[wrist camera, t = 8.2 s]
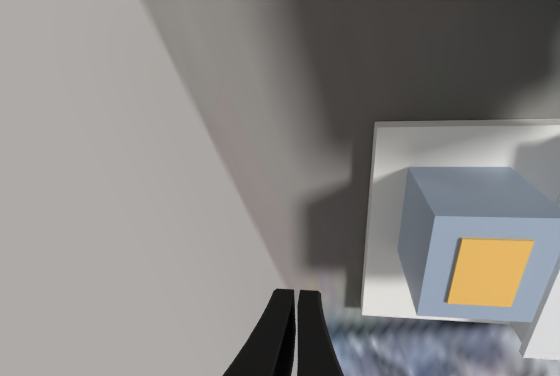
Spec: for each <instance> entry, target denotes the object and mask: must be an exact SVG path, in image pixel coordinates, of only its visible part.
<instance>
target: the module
mask: <svg viewBox="0 0 560 376" xmlns="http://www.w3.org/2000/svg"><path fill="white" fill-rule="evenodd" d="M397 251H398V254H399V258H400V261H401V264H402V268H403V271H404V274H405V278H406V281H407V285H408V288H409V291H410V295H411V298H412V301H413V305H414V308H415V311H416V315H417V316H431V317H448V318H465V319H481V320H498V321H515V322H532V321H533V318H534V316H535V313H536V311H537V308H538V306H539V304H540V301H541V299H542V296H543V294H544V291H545V289H546V286H547V284H548V281H549V279H550V276H551V274H552V271H553V269H554V267H555V264H556V262H557V259H558V257H559V254H560V207H559V206H558V205H556V204H555V203H554V202H553V201H551V200H550V199H549V198H548V197H547V196H545V195H544V194H543V193H542V192H540V191H539V190H538V189H537V188H535V187H534V186H533V185H532V184H531V183H529V182H528V181H527V180H526V179H524V178H523V177H522V176H521V175H520V174H518V173H517V172H516V171H515V170H513V169H512V168H511V167H408V173H407V180H406V188H405V196H404V203H403V211H402V219H401V226H400V234H399V242H398V249H397Z"/></svg>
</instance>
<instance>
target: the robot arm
mask: <svg viewBox="0 0 560 376" xmlns="http://www.w3.org/2000/svg"><path fill="white" fill-rule="evenodd" d="M295 334H296V325H295V302H294V290H291V289H276V290H274V292H273V294H272V296H271V299H270V301H269V303H268V305H267V307H266V309H265V311H264V313H263V314H262V316H261V318H260V320H259V322H258V323H257V325H256V327H255V328H254V330H253V332H252V333H251V335H250V337H249V339H248V340H247V342H246V343H245V345H244V346H243V347H242V349H241V350H240V352H239V354H238V355H237V356H236V358H235V359H234V361H233V362H232V364H231V365H230V366H229V368H228V369H227V370H226V372H225V373H224V375H223V376H291V373H292V367H293V361H294V348H295ZM297 376H344V375H343V372H342V370H341V367H340V365H339V362H338V360H337V357H336V354H335V351H334V348H333V345H332V342H331V339H330V336H329V333H328V330H327V326H326V322H325V318H324V314H323V309H322V302H321V293H320V292H319V291H310V290H300V294H299V300H298V370H297Z"/></svg>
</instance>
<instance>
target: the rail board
mask: <svg viewBox="0 0 560 376" xmlns="http://www.w3.org/2000/svg"><path fill="white" fill-rule="evenodd" d="M408 167H511V168H512V169H513V170H515V171H516V172H517V173H518V174H520V175H521V176H522V177H523V178H524V179H526V180H527V181H528V182H529V183H531V184H532V185H533V186H534V187H535V188H537V189H538V190H539V191H540V192H542V193H543V194H544V195H545V196H547V197H548V198H549V199H550V200H551V201H553V202H554V203H555V204H556V205H558V206H559V207H560V119H509V120H445V121H381V122H375V124H374V137H373V150H372V163H371V175H370V188H369V201H368V214H367V227H366V240H365V252H364V265H363V278H362V291H361V311H362V315H370V316H386V317H402V318H418V319H434V320H450V321H466V322H482V323H498V324H511V325H512V327H513V329H514V330H515V332H516V334H517V335H518V337H519V339H520V340H521V342H522V345H521V347H520V350H519V352H520V353H521V355H522V357H523V358H536V359H549V360H560V254H559V257H558V259H557V262H556V264H555V267H554V269H553V271H552V274H551V276H550V279H549V281H548V284H547V286H546V289H545V291H544V294H543V296H542V299H541V301H540V304H539V306H538V308H537V311H536V313H535V316H534V318H533V321H532V322H515V321H498V320H481V319H465V318H448V317H431V316H417V315H416V311H415V308H414V305H413V301H412V298H411V295H410V291H409V288H408V285H407V281H406V278H405V274H404V271H403V268H402V264H401V261H400V258H399V254H398V251H397V249H398V242H399V234H400V226H401V219H402V211H403V203H404V196H405V188H406V180H407V173H408Z"/></svg>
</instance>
